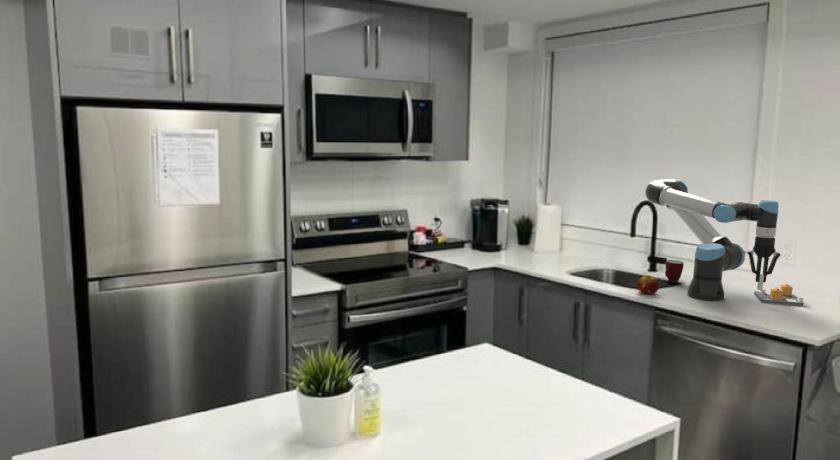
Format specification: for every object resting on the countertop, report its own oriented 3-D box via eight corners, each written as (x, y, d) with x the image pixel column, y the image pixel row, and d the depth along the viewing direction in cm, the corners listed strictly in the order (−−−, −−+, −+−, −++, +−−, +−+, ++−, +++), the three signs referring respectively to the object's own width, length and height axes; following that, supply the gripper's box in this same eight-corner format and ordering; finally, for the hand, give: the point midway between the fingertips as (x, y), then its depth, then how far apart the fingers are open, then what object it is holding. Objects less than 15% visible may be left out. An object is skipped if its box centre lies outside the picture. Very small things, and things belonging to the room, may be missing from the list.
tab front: (771, 299, 263) (772, 288, 262) (769, 297, 266) (771, 286, 265) (782, 300, 262) (783, 289, 261) (780, 298, 265) (781, 287, 264)
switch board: (761, 302, 264) (762, 295, 263) (754, 294, 277) (754, 286, 276) (803, 306, 259) (804, 298, 258) (793, 297, 272) (794, 290, 272)
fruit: (649, 297, 270) (650, 280, 268) (632, 292, 277) (633, 275, 276) (662, 294, 275) (663, 277, 273) (645, 289, 282) (646, 272, 281)
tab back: (781, 295, 270) (782, 284, 269) (779, 293, 273) (780, 283, 272) (791, 295, 269) (792, 285, 268) (789, 294, 272) (790, 283, 271)
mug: (675, 285, 290) (677, 265, 289) (658, 281, 296) (660, 262, 294) (684, 281, 297) (686, 261, 296) (668, 278, 303) (670, 259, 301)
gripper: (750, 236, 259) (745, 290, 263) (784, 238, 256) (778, 292, 260) (746, 234, 266) (741, 285, 270) (779, 235, 263) (774, 288, 267)
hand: (759, 289), depth 265 cm, fingers closed
